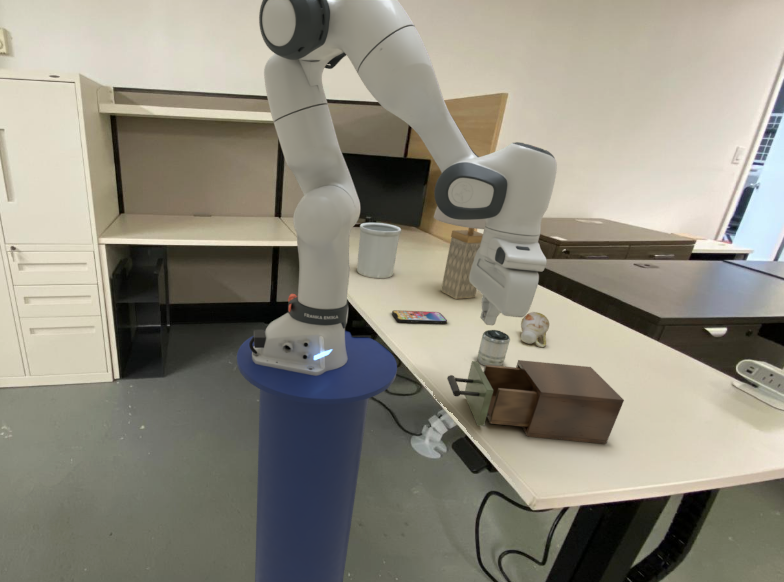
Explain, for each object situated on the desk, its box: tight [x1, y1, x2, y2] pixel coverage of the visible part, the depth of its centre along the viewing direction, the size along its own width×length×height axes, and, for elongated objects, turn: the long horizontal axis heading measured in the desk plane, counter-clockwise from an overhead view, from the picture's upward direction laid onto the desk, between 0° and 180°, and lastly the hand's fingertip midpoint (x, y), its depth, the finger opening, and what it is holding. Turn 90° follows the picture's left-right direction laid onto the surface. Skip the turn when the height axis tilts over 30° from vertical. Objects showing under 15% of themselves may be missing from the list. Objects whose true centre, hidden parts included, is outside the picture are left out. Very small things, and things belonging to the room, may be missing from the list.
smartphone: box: [391, 309, 448, 325], centre depth 137 cm, size 7×1×15 cm
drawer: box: [446, 360, 538, 427], centre depth 90 cm, size 18×11×8 cm, turn 87°
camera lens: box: [477, 329, 511, 367], centre depth 112 cm, size 6×6×8 cm
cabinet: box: [515, 359, 625, 445], centre depth 90 cm, size 15×13×10 cm
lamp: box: [433, 205, 486, 300], centre depth 152 cm, size 25×25×44 cm
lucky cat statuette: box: [520, 311, 550, 348], centre depth 128 cm, size 8×10×10 cm
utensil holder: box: [356, 222, 402, 279], centre depth 173 cm, size 15×15×18 cm
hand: (487, 322), depth 85 cm, fingers closed
